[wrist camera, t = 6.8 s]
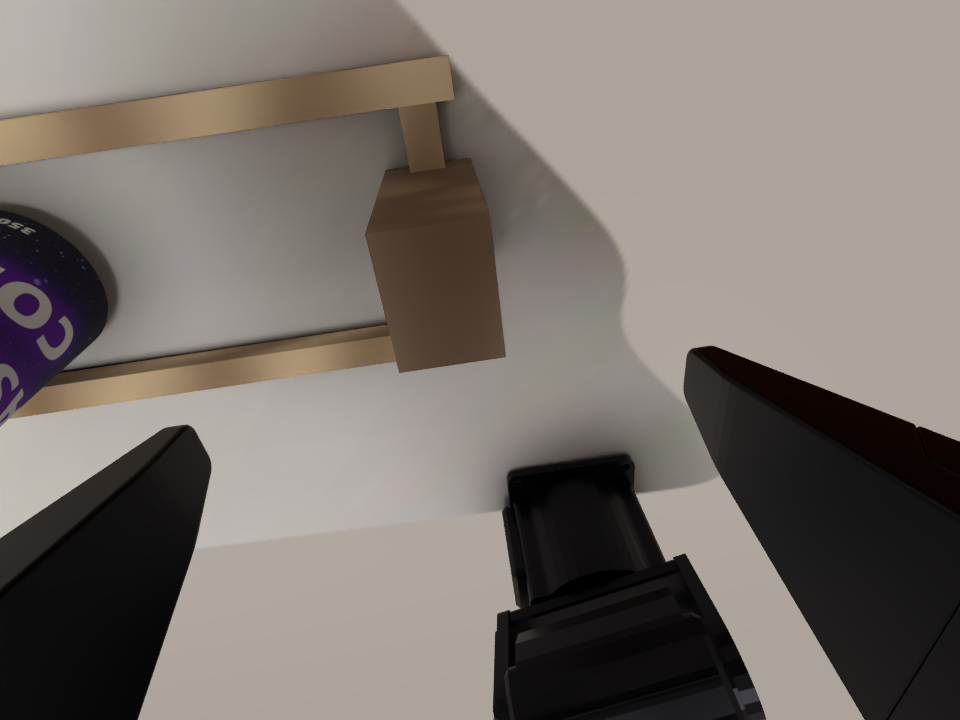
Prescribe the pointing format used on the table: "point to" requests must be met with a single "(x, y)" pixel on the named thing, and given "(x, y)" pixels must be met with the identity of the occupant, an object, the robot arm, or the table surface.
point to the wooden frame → (390, 233)
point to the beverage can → (42, 308)
